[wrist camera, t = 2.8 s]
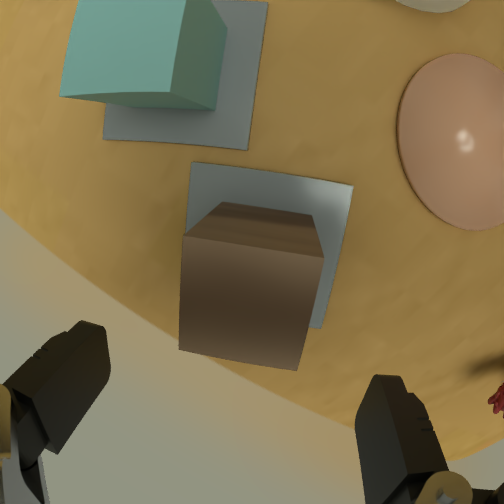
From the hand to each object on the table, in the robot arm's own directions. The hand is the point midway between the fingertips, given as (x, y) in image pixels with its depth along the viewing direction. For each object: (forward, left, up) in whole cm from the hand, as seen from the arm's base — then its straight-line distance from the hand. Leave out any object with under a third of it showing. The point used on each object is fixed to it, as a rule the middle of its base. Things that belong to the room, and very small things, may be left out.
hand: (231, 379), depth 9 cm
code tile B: (-10, -6, -11) cm, 16 cm away
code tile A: (0, 0, -11) cm, 11 cm away
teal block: (-10, -6, -11) cm, 16 cm away
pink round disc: (-9, +12, -11) cm, 19 cm away
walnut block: (0, 0, -11) cm, 11 cm away
